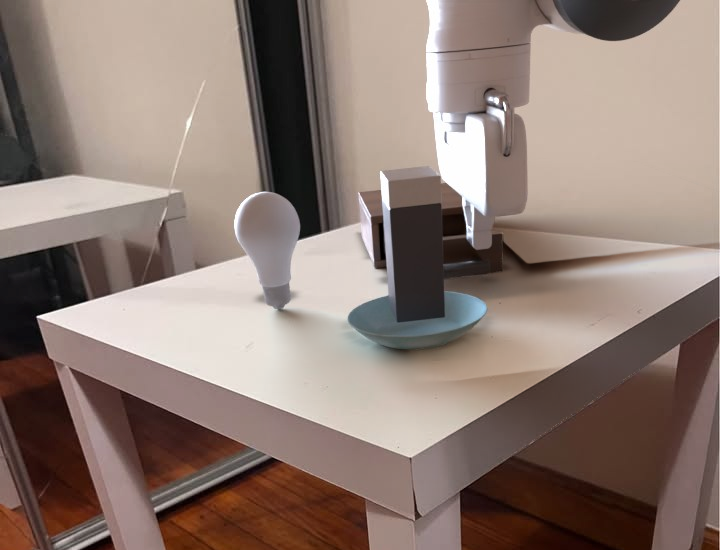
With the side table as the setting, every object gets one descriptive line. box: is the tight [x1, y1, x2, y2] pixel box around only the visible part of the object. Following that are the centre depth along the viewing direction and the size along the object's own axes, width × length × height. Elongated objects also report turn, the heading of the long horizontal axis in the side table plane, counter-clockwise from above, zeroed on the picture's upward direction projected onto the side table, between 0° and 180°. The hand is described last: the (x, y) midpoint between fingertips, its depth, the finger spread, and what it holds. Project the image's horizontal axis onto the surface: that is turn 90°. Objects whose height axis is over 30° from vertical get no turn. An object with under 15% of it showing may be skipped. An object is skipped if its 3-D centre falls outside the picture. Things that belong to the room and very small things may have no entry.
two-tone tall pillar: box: [379, 165, 445, 323], centre depth 62 cm, size 4×5×11 cm
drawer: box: [380, 214, 504, 280], centre depth 80 cm, size 17×11×4 cm, turn 6°
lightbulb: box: [233, 191, 301, 310], centre depth 73 cm, size 6×6×11 cm
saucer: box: [346, 290, 488, 351], centre depth 65 cm, size 12×12×2 cm
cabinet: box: [357, 182, 464, 269], centre depth 91 cm, size 15×13×6 cm
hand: (479, 245), depth 74 cm, fingers closed
